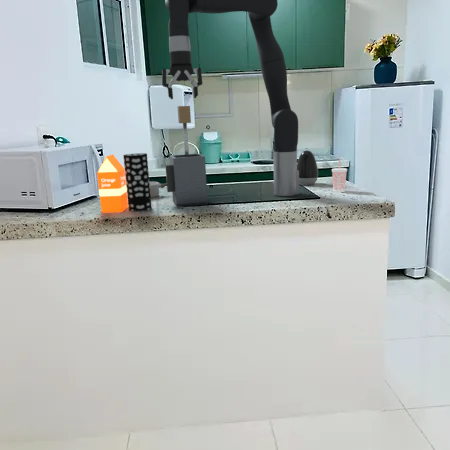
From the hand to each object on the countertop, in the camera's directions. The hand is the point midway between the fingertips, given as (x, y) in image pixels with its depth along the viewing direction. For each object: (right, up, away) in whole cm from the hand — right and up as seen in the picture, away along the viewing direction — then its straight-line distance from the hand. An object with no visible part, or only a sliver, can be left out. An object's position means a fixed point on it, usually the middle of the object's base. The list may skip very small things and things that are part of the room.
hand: (183, 98), depth 161 cm
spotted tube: (-16, -40, +3) cm, 43 cm away
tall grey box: (0, -37, +9) cm, 39 cm away
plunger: (+1, -26, +7) cm, 27 cm away
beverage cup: (+62, -32, +20) cm, 72 cm away
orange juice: (-26, -40, +4) cm, 48 cm away
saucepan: (-14, -34, +27) cm, 46 cm away
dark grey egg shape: (+52, -28, +39) cm, 70 cm away
